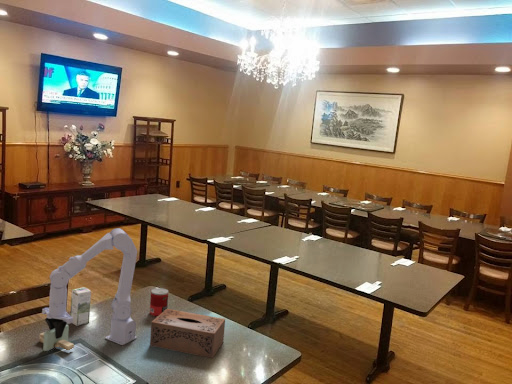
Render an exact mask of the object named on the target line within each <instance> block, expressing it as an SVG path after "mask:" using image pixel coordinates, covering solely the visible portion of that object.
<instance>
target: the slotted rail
mask: <svg viewBox="0 0 512 384" xmlns="http://www.w3.org/2000/svg"><path fill="white" fill-rule="evenodd" d="M44 332H45V331H44ZM44 332H40V333H39V335H38V336H39V337H38V338H39V339H38V340H39V341H38V342H40V343H41V344H44ZM59 346H60V347H62V348H64V349H66V350H70V349H72V348H75V344H74V343H72V342H70V341H69V340H68V341H66V340H63V339H62V340H59V341H57V342H56V343H54V347H59Z"/></svg>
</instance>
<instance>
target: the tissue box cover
mask: <svg viewBox="0 0 512 384" xmlns="http://www.w3.org/2000/svg"><path fill="white" fill-rule="evenodd" d="M225 327H226V318H223V317H222V318H221V317H218V316H217V317H216V316H210V315H206V314H205V315H204V314H199V313H195V312H194V313H193V312H188V311H181V310H177V309H171V308H167V309H166V310H165V311H164V312H162V313H161V314H160V315H159V316H158V317H155V318H154V319H153V320H152V321H151V325H150V340H149V341H150V342H149V346H150V347H156V348H160V349H166V350H171V351H175V352H181V353H185V354H190V355H195V356H201V357H205V358H210V359H214V356H215V355H216V354H217V352H218V351H219V349H220V348H219V347H221V346H222V345H223V343H224V339H225Z"/></svg>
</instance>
